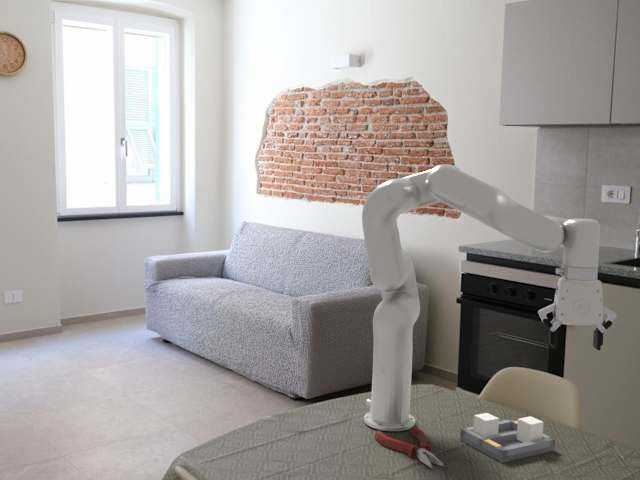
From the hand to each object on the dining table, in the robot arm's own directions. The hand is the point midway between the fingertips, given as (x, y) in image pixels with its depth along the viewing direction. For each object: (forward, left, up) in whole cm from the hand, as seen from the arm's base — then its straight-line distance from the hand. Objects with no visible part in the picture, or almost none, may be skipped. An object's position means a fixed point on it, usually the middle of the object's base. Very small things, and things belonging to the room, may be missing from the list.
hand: (575, 348), depth 169 cm
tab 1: (-10, -16, -22) cm, 29 cm away
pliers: (-15, -35, -25) cm, 45 cm away
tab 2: (-4, -8, -22) cm, 24 cm away
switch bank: (-7, -12, -24) cm, 28 cm away
